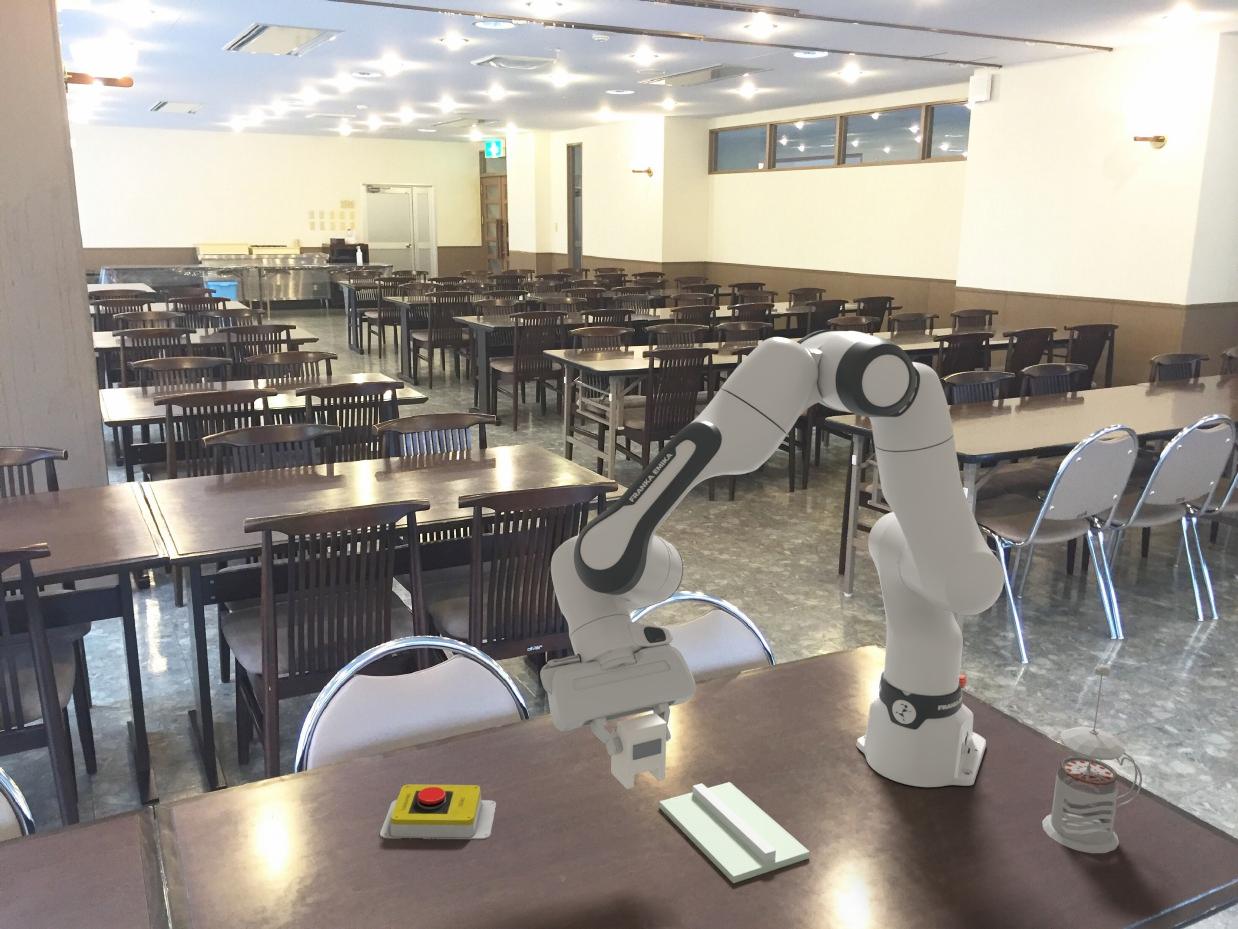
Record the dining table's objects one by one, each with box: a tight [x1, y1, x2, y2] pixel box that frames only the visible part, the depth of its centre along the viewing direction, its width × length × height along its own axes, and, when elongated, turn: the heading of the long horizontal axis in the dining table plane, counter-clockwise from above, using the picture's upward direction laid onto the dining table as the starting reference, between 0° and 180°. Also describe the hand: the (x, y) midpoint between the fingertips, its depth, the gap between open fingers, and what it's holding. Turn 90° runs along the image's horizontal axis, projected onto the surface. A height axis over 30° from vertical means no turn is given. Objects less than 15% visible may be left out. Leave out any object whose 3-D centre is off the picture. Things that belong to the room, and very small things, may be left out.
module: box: [610, 712, 667, 790], centre depth 128 cm, size 5×6×8 cm
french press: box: [1041, 664, 1143, 854], centre depth 135 cm, size 10×12×25 cm
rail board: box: [658, 781, 810, 884], centre depth 136 cm, size 19×12×2 cm, turn 27°
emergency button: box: [379, 783, 497, 840], centre depth 137 cm, size 9×4×15 cm
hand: (640, 747), depth 128 cm, fingers closed on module, 6 cm apart
